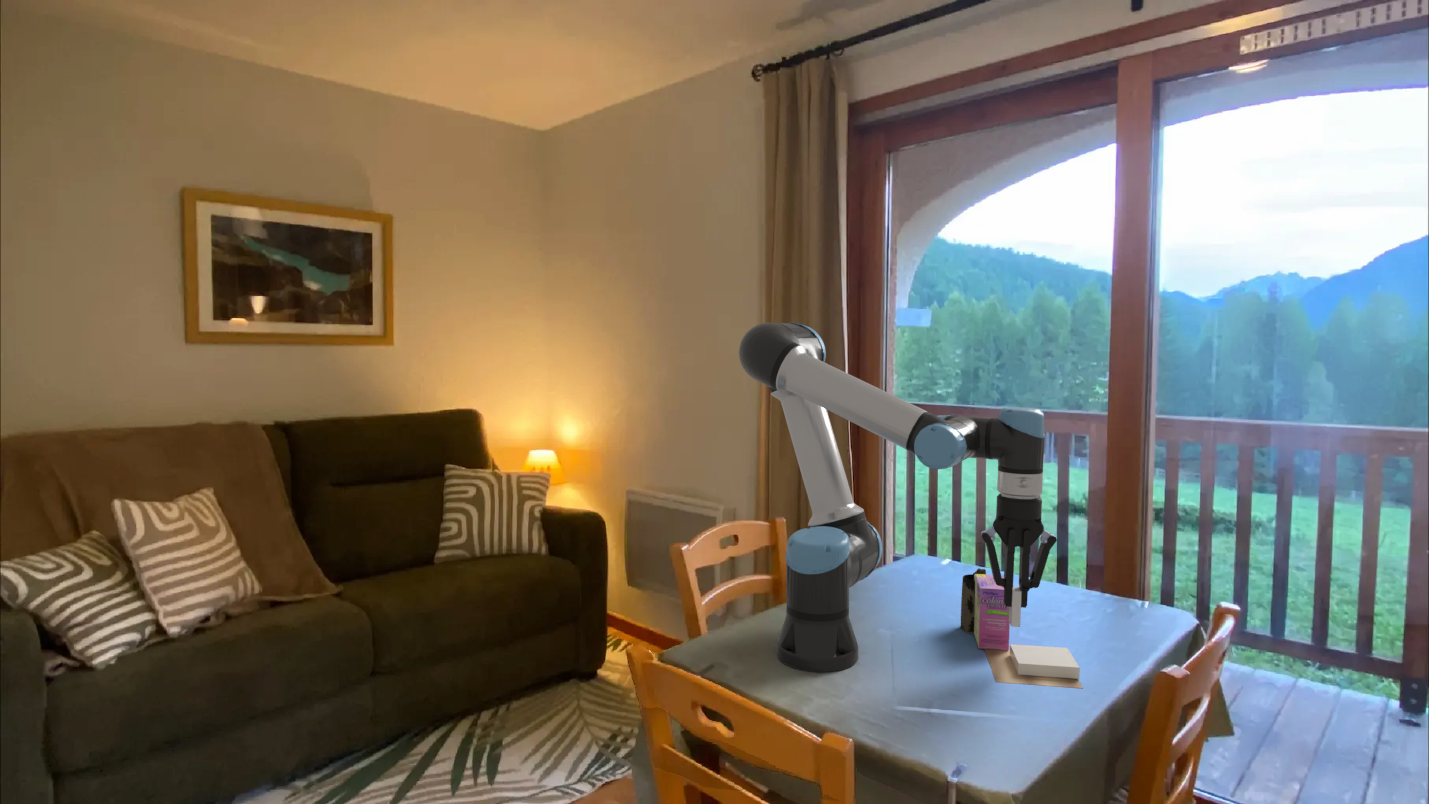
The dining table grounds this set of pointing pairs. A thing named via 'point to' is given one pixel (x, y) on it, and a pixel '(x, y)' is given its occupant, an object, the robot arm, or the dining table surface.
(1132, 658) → the dining table surface
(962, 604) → the mug
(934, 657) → the dining table surface
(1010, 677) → the mat
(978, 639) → the box
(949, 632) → the dining table surface
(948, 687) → the dining table surface
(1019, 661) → the tile
